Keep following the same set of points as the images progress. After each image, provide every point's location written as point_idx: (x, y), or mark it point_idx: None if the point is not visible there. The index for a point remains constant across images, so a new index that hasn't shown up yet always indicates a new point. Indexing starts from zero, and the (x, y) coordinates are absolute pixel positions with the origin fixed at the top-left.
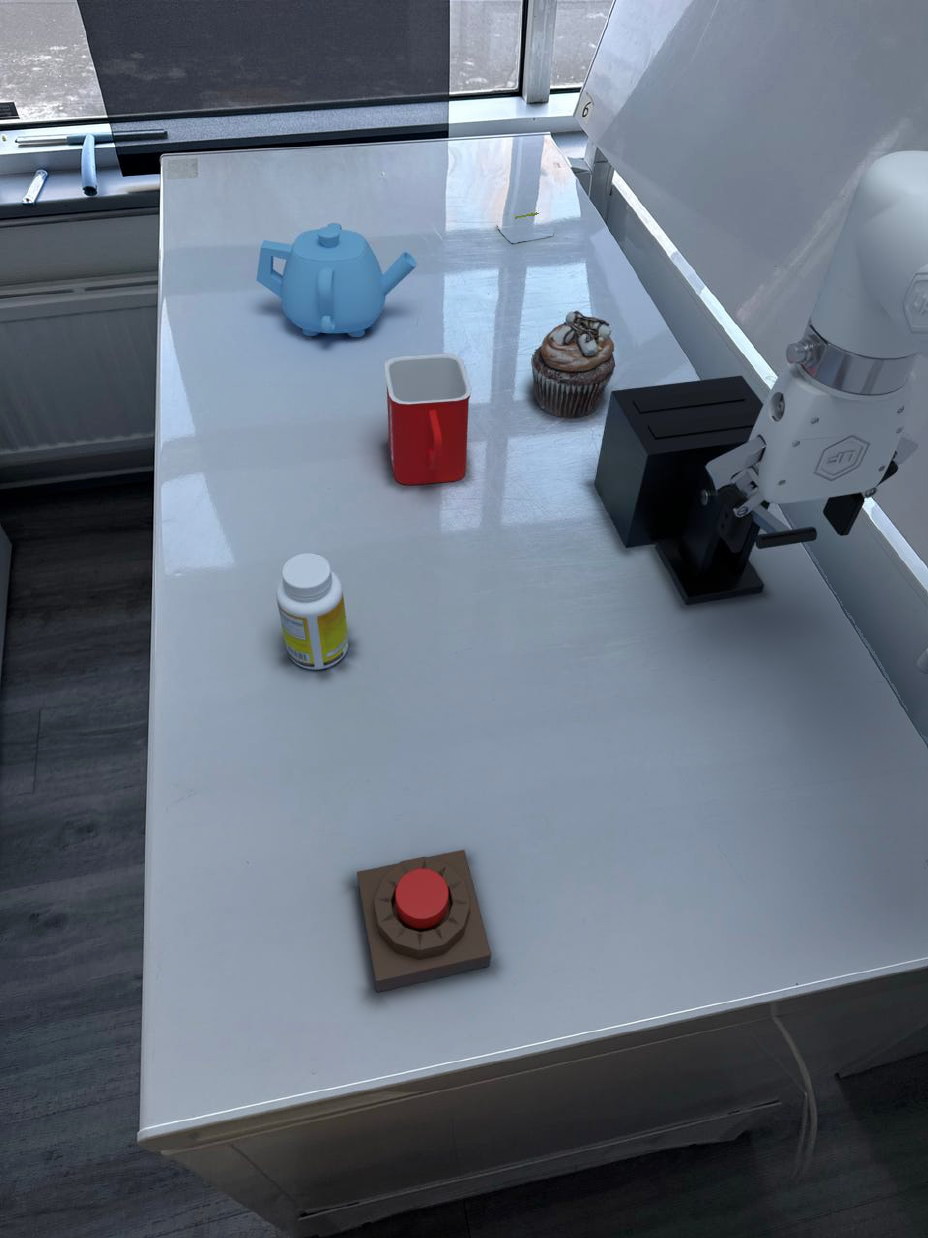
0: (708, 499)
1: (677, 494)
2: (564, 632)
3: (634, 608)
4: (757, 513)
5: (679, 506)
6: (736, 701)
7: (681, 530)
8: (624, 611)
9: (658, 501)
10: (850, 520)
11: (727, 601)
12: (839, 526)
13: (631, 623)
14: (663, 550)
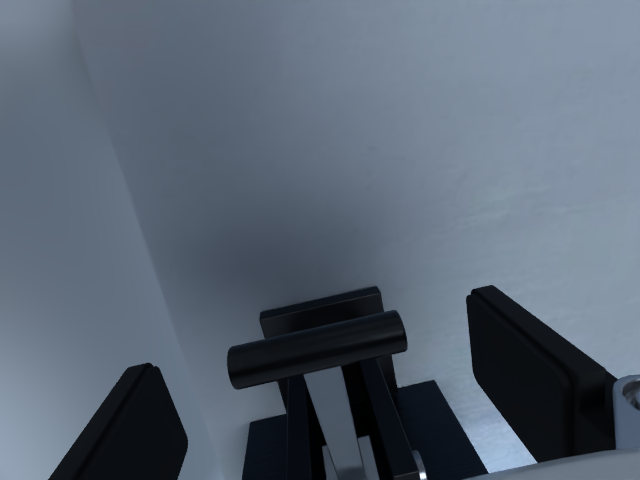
0: (419, 463)
1: None
2: (556, 233)
3: (450, 277)
4: (354, 429)
5: None
6: (346, 105)
7: (362, 410)
8: (465, 272)
9: (434, 455)
10: (115, 408)
11: (315, 294)
12: (153, 391)
13: (461, 251)
14: (394, 375)
